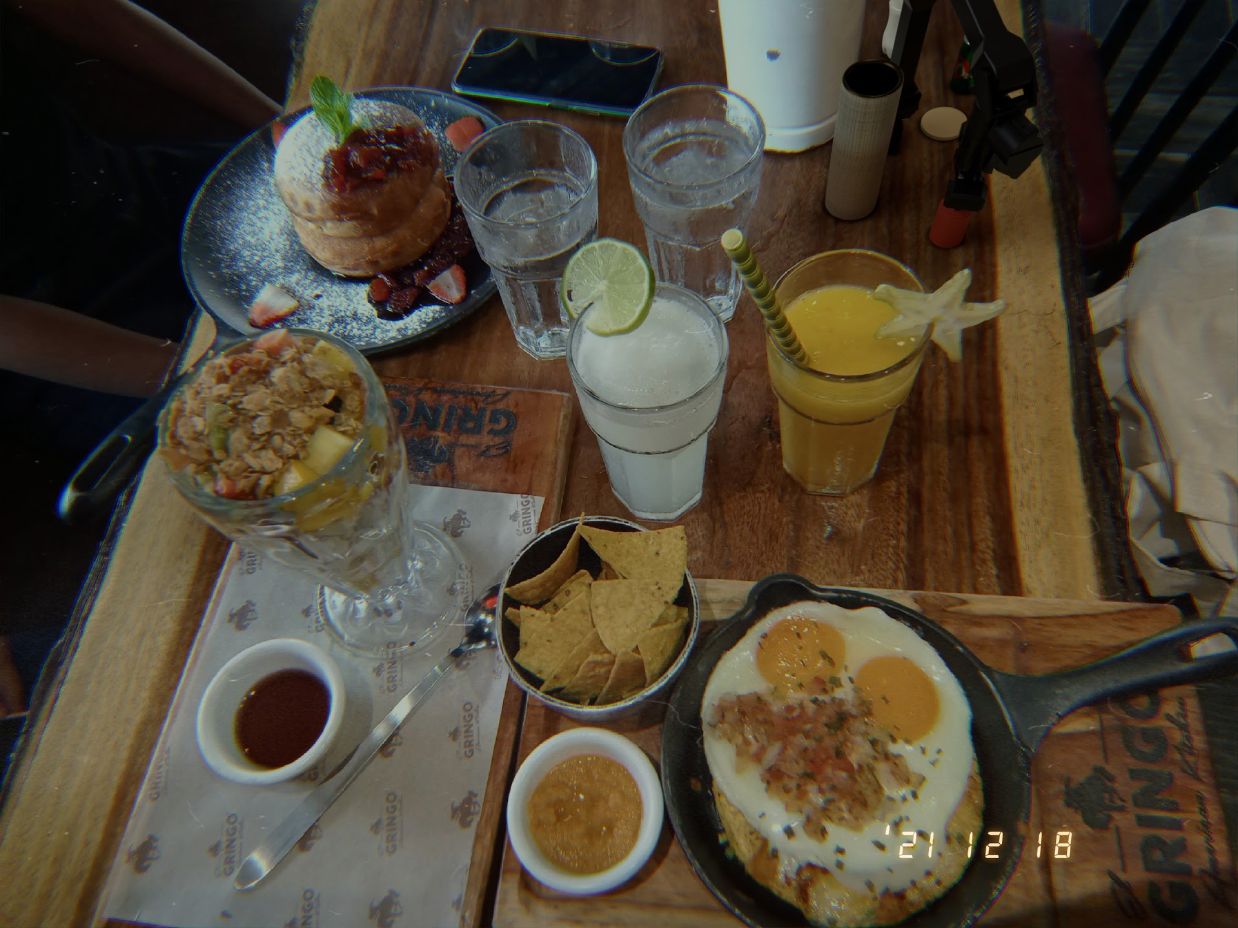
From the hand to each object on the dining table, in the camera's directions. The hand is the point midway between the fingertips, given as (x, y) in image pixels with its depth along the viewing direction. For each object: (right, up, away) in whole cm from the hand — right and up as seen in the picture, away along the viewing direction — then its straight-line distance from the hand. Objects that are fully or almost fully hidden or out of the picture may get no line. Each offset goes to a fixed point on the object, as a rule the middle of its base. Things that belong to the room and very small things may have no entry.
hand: (958, 202), depth 131 cm
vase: (-15, +5, +15) cm, 22 cm away
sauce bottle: (+1, -4, +8) cm, 9 cm away
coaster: (+6, +23, +20) cm, 31 cm away
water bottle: (+1, +45, +32) cm, 55 cm away
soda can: (+12, +33, +24) cm, 43 cm away
